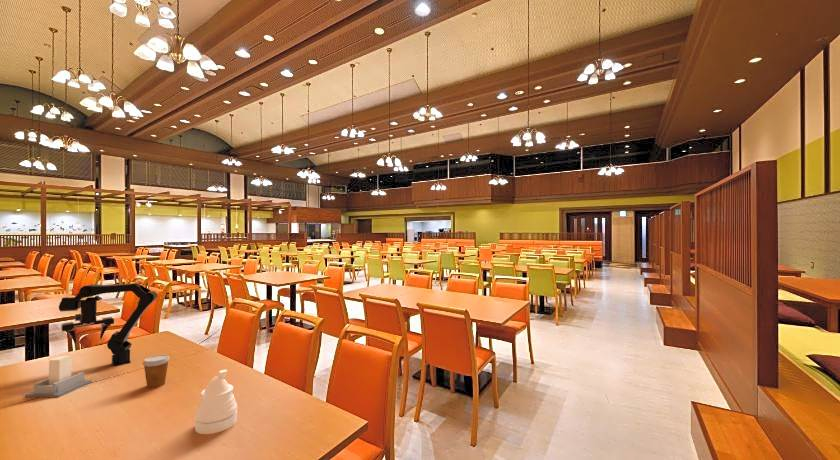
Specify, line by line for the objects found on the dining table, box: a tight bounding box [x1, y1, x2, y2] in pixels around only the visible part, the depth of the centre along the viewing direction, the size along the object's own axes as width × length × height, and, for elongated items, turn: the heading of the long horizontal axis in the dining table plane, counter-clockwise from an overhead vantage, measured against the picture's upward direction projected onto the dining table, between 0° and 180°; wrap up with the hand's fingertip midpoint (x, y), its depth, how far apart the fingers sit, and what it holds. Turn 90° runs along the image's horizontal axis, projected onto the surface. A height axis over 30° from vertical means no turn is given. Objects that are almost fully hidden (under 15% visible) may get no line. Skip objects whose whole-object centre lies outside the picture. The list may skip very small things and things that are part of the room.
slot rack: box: [24, 371, 93, 398], centre depth 147 cm, size 14×14×5 cm
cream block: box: [48, 355, 73, 385], centre depth 147 cm, size 5×4×12 cm
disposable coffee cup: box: [142, 354, 171, 389], centre depth 152 cm, size 10×10×12 cm
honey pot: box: [194, 369, 238, 435], centre depth 121 cm, size 13×13×18 cm
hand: (88, 340), depth 172 cm, fingers open, 9 cm apart
